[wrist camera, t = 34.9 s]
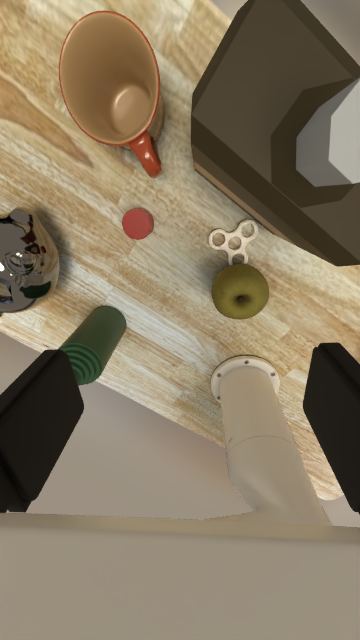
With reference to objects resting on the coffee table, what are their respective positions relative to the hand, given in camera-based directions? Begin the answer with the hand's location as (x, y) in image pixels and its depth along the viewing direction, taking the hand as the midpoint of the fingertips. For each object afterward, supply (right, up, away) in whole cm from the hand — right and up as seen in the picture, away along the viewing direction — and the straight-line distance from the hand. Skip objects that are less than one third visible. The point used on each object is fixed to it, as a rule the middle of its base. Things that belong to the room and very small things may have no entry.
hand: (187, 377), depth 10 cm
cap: (-6, +15, +24) cm, 29 cm away
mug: (-5, +26, +22) cm, 34 cm away
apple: (+8, +8, +29) cm, 31 cm away
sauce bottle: (-13, +2, +34) cm, 36 cm away
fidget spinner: (+7, +14, +27) cm, 31 cm away
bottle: (+9, +21, +23) cm, 33 cm away
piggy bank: (-22, +12, +30) cm, 39 cm away
